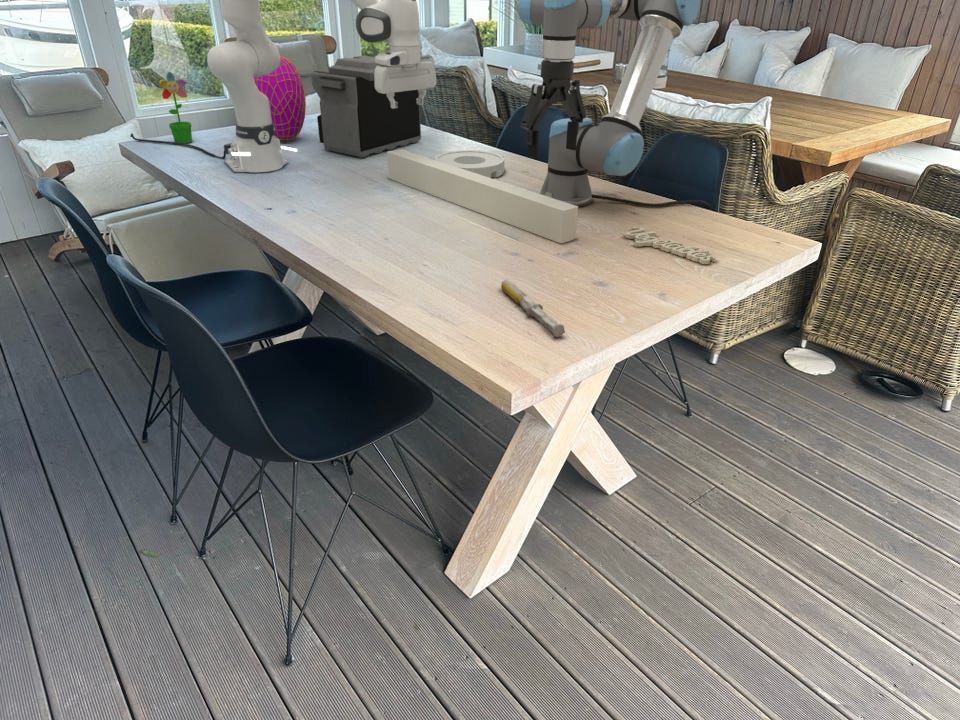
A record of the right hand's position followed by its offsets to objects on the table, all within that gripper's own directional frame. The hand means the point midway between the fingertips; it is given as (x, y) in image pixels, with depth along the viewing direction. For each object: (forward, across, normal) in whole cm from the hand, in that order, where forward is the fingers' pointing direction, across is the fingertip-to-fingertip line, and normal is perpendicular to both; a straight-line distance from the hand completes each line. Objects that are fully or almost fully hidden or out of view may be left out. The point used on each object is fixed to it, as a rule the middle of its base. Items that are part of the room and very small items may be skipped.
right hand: (551, 153), depth 168 cm
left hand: (-2, 0, -60) cm, 60 cm away
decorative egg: (+21, +4, -137) cm, 138 cm away
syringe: (+21, +35, +30) cm, 51 cm away
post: (+21, 0, -30) cm, 37 cm away
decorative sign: (+21, -16, +26) cm, 36 cm away
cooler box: (+21, -17, -108) cm, 111 cm away
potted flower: (+21, +35, -157) cm, 163 cm away
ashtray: (+21, -23, -58) cm, 66 cm away
